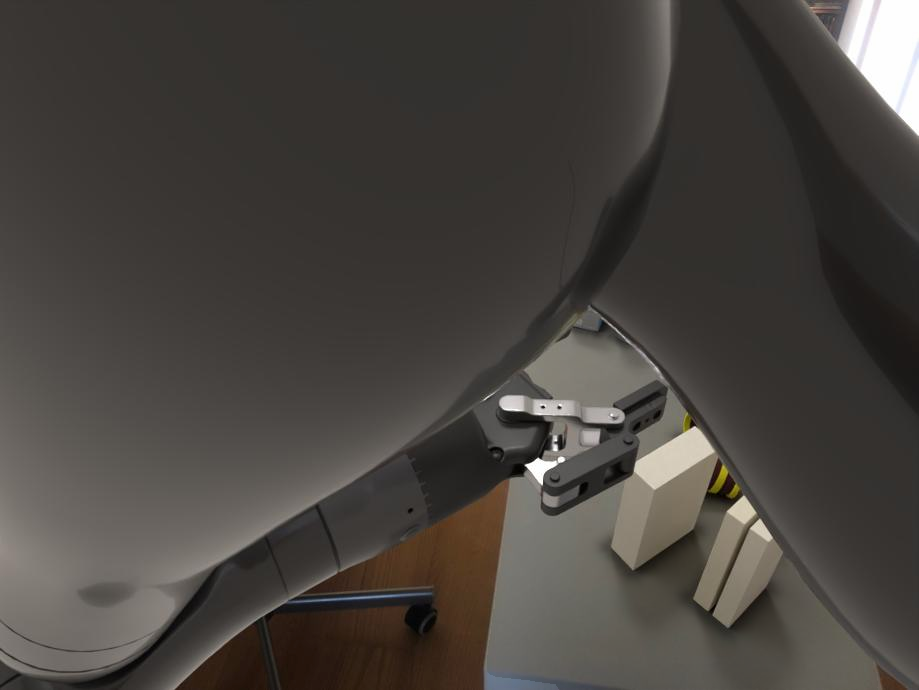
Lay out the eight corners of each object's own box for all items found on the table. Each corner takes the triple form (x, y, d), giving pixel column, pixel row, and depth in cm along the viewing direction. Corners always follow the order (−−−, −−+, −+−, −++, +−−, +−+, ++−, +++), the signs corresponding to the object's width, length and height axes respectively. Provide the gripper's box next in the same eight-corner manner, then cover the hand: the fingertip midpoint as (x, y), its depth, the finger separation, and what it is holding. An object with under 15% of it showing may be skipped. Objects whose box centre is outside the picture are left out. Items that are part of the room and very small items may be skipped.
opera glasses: (731, 511, 69) (754, 481, 66) (680, 496, 70) (700, 466, 66) (723, 439, 77) (744, 409, 73) (677, 426, 77) (695, 396, 73)
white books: (766, 586, 62) (811, 498, 54) (727, 628, 59) (769, 542, 51) (731, 560, 64) (769, 470, 56) (692, 599, 61) (726, 511, 53)
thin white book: (693, 529, 67) (721, 447, 59) (633, 570, 64) (654, 490, 56) (670, 507, 69) (695, 425, 61) (610, 547, 66) (628, 466, 58)
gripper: (456, 520, 30) (713, 374, 37) (319, 346, 39) (544, 254, 46) (461, 608, 35) (687, 465, 41) (338, 435, 44) (539, 340, 51)
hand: (612, 354), depth 44 cm, fingers open, 8 cm apart
